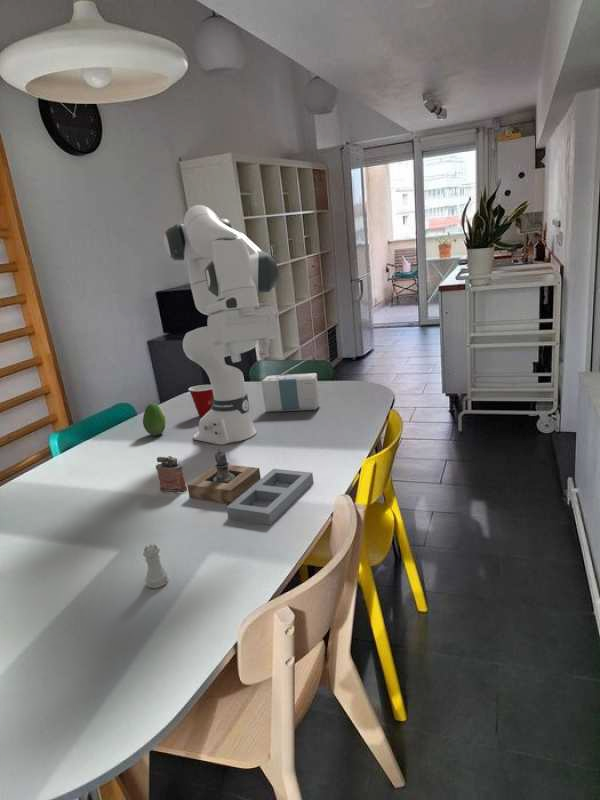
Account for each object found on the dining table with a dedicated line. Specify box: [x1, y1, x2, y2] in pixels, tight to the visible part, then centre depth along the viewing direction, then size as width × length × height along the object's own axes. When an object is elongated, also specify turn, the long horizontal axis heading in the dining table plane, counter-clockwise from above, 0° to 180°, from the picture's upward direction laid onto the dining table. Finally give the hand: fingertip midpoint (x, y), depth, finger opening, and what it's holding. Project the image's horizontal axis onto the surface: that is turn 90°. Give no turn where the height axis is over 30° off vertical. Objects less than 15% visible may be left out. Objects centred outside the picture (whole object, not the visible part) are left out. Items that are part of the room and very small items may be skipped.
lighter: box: [155, 455, 188, 494], centre depth 151 cm, size 8×3×10 cm, turn 71°
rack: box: [225, 468, 314, 526], centre depth 139 cm, size 12×23×3 cm, turn 153°
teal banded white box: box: [261, 356, 321, 413], centre depth 210 cm, size 21×8×20 cm, turn 77°
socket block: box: [186, 464, 262, 505], centre depth 148 cm, size 14×14×4 cm
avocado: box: [142, 402, 166, 437], centre depth 200 cm, size 8×8×12 cm
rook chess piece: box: [142, 543, 169, 589], centre depth 109 cm, size 4×4×8 cm
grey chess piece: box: [213, 448, 235, 483], centre depth 147 cm, size 6×6×12 cm
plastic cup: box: [188, 384, 214, 419], centre depth 216 cm, size 11×11×12 cm
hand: (251, 359), depth 133 cm, fingers open, 8 cm apart
